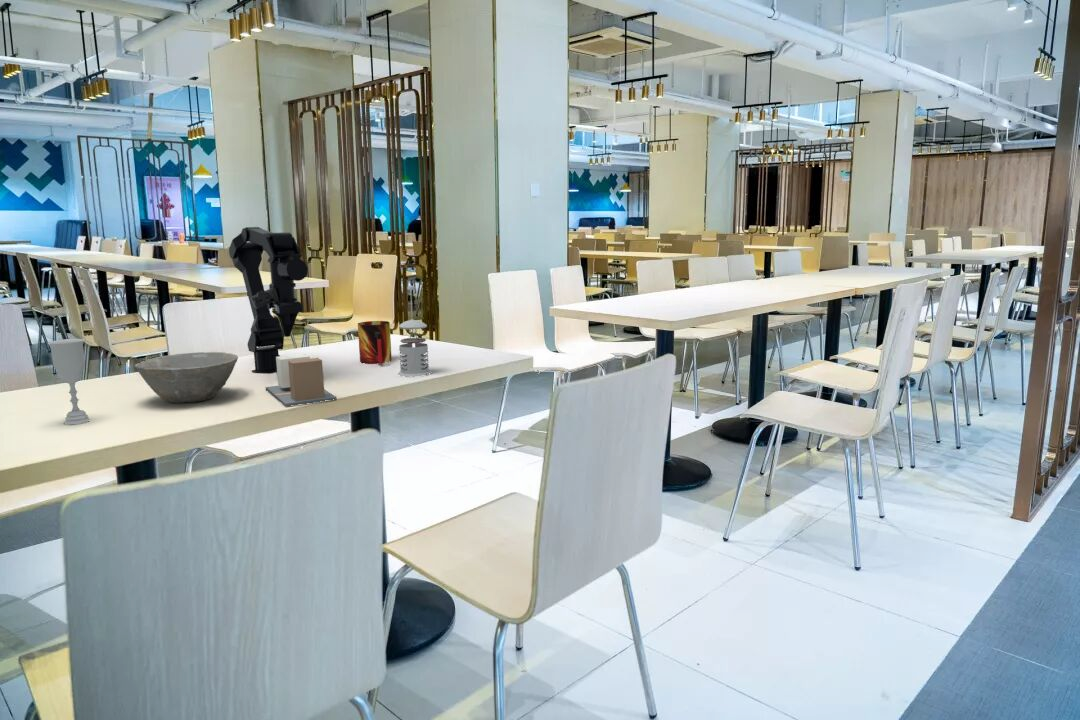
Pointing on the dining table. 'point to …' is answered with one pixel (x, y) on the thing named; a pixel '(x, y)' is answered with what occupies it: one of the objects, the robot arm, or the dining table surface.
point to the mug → (374, 342)
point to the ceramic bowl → (187, 375)
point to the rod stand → (303, 384)
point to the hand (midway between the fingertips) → (287, 336)
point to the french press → (413, 349)
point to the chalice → (70, 372)
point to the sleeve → (286, 368)
